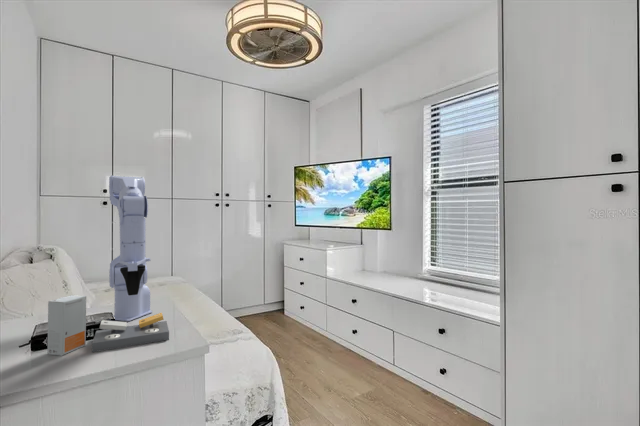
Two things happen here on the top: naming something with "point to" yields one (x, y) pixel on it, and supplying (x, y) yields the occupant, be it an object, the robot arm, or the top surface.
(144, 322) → the amber rocker
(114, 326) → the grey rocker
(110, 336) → the power strip
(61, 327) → the skincare box
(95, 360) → the top surface
